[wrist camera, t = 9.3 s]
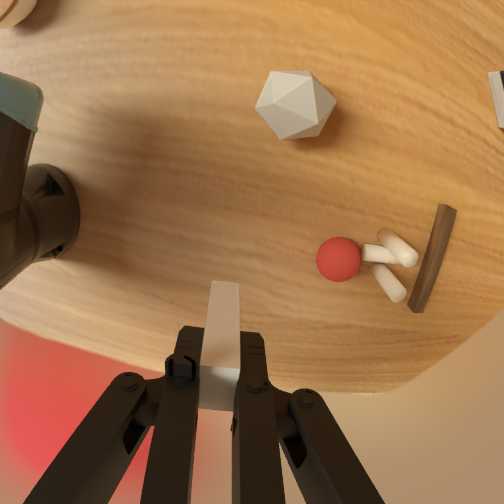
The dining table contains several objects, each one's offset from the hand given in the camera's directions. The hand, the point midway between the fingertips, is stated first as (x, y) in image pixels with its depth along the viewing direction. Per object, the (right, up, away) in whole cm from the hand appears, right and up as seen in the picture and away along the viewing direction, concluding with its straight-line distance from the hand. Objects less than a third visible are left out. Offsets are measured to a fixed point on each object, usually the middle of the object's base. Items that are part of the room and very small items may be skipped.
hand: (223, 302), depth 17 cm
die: (+7, +21, +19) cm, 29 cm away
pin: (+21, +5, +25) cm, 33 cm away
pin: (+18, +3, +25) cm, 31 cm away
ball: (+13, +2, +23) cm, 27 cm away
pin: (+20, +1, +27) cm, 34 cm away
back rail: (+30, +2, +27) cm, 41 cm away
